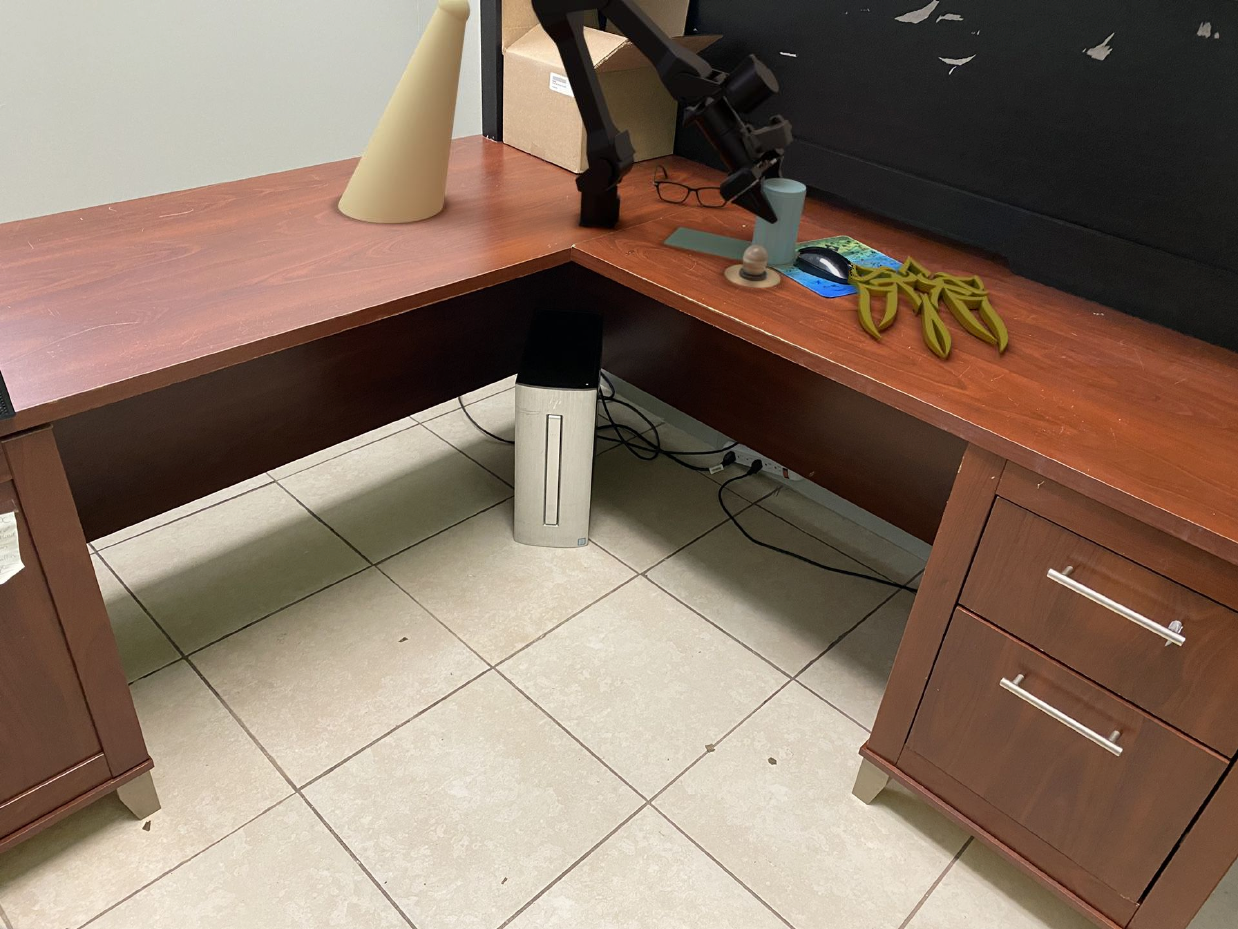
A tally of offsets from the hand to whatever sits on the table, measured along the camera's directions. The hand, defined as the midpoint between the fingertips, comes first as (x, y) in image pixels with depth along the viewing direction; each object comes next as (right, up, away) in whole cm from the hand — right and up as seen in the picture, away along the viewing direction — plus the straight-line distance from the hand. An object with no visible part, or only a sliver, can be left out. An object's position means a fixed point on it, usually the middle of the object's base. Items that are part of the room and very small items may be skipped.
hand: (782, 213), depth 141 cm
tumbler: (-1, -6, +4) cm, 7 cm away
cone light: (-64, +5, +13) cm, 66 cm away
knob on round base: (-5, -11, -3) cm, 13 cm away
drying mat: (-7, -4, +7) cm, 11 cm away
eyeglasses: (-12, +13, +30) cm, 35 cm away
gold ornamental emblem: (+20, -17, -7) cm, 27 cm away
